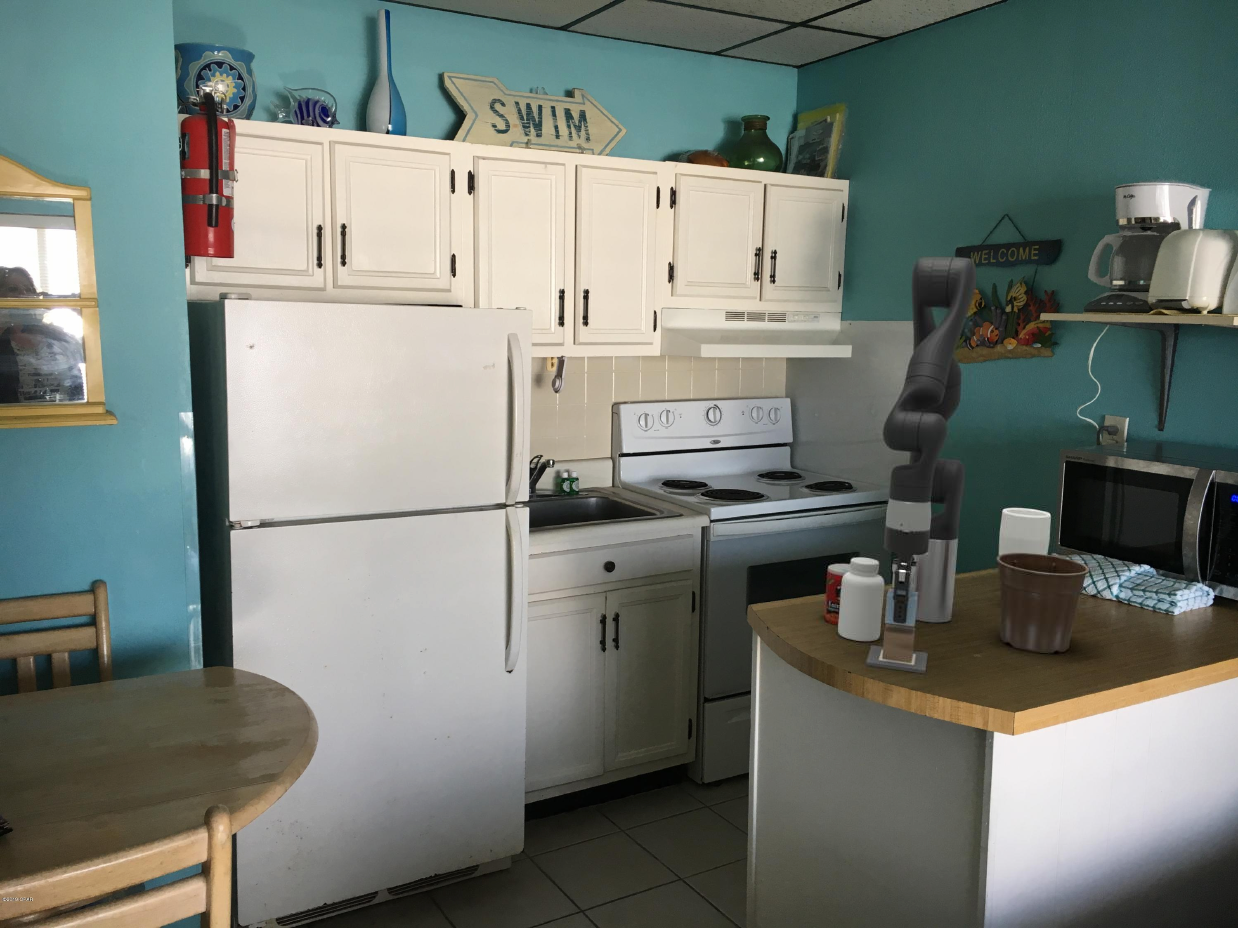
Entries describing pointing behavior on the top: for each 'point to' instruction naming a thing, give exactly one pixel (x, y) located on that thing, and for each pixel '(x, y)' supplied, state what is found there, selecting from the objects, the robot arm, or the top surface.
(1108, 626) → the top surface
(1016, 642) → the plant pot
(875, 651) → the mat
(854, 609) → the pill bottle
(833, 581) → the canned food
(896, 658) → the walnut block
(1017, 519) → the cup
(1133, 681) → the top surface
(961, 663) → the top surface
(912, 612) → the blue block
